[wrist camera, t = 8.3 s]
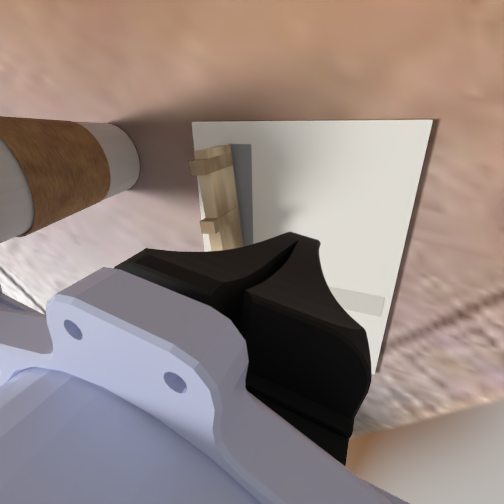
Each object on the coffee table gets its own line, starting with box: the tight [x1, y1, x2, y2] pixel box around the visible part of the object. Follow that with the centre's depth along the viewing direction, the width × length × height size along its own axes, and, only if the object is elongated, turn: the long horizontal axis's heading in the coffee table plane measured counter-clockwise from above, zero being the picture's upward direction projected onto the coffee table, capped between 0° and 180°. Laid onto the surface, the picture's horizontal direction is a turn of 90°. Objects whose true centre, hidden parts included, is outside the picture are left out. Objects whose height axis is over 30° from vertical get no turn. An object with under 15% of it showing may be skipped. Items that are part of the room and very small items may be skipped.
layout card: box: [192, 120, 433, 375], centre depth 24 cm, size 20×16×1 cm
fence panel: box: [188, 144, 244, 251], centre depth 22 cm, size 10×1×4 cm, turn 7°
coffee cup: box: [0, 116, 140, 243], centre depth 21 cm, size 8×8×15 cm
